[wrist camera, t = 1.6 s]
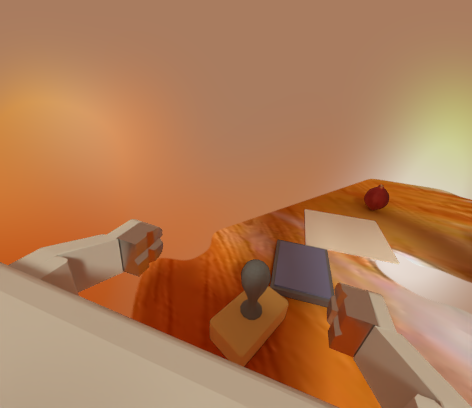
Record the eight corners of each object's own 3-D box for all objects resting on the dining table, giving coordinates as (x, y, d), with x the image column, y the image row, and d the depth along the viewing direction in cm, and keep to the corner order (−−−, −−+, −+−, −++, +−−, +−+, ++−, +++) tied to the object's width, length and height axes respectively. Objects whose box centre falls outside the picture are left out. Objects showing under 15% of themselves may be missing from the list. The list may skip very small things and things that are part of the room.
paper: (375, 221, 56) (375, 221, 56) (398, 264, 43) (399, 263, 42) (304, 210, 60) (304, 209, 60) (305, 245, 46) (305, 244, 46)
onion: (363, 203, 66) (372, 178, 62) (384, 210, 62) (396, 184, 58) (358, 209, 62) (368, 184, 58) (380, 217, 58) (392, 191, 55)
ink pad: (325, 253, 44) (327, 248, 43) (333, 308, 33) (336, 302, 32) (276, 243, 46) (277, 238, 45) (269, 292, 35) (270, 286, 34)
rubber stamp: (255, 293, 35) (263, 234, 29) (285, 317, 32) (302, 256, 26) (208, 337, 29) (206, 272, 23) (239, 373, 25) (247, 308, 19)
